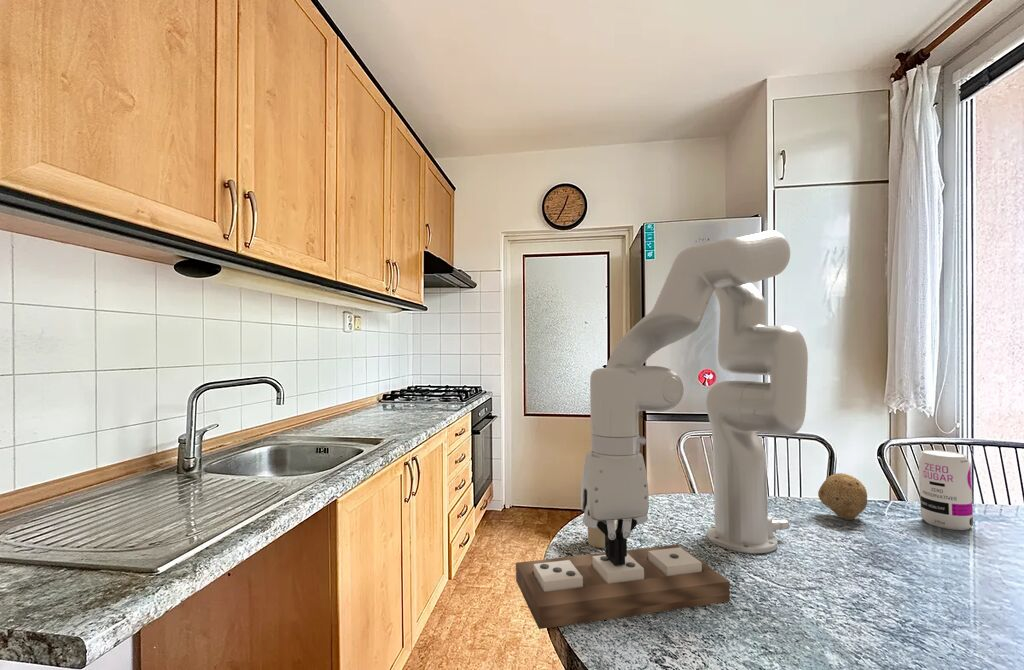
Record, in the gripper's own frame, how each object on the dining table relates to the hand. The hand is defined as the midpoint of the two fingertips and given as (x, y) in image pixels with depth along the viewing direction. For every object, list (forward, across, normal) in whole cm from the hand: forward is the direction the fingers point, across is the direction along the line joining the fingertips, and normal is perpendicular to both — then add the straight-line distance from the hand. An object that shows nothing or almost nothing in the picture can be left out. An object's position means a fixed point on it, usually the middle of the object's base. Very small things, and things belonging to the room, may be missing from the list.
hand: (616, 561), depth 75 cm
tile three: (+3, +10, 0) cm, 10 cm away
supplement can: (+4, -80, -9) cm, 81 cm away
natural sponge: (+4, -62, -17) cm, 65 cm away
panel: (+5, 0, 0) cm, 5 cm away
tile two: (+3, 0, 0) cm, 3 cm away
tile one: (+3, -10, 0) cm, 11 cm away
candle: (+5, -5, -18) cm, 19 cm away
